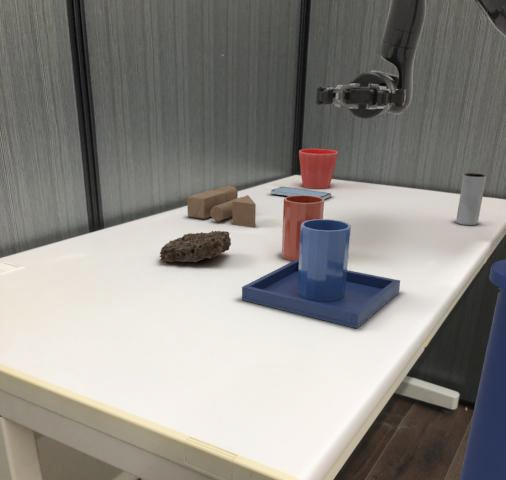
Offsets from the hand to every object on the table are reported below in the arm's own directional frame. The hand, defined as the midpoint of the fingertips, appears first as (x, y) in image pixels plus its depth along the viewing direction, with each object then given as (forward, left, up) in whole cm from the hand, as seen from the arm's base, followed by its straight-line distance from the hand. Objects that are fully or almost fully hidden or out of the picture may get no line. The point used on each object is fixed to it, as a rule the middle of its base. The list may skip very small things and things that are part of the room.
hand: (352, 97), depth 88 cm
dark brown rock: (+20, +14, -26) cm, 36 cm away
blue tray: (-6, +18, -26) cm, 32 cm away
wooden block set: (+33, -18, -26) cm, 46 cm away
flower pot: (+35, -61, -26) cm, 75 cm away
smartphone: (+32, -46, -26) cm, 62 cm away
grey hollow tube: (-12, -41, -26) cm, 50 cm away
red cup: (+6, +2, -26) cm, 27 cm away
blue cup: (-6, +18, -26) cm, 32 cm away
